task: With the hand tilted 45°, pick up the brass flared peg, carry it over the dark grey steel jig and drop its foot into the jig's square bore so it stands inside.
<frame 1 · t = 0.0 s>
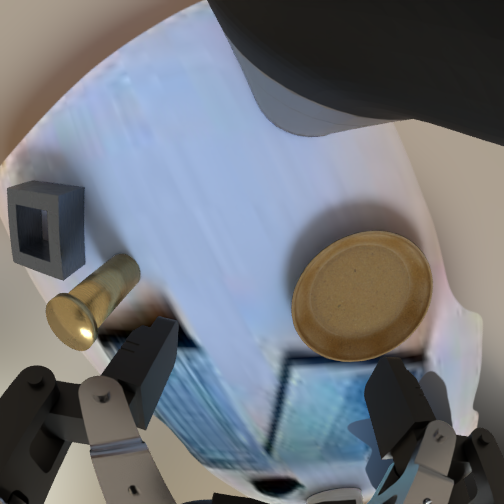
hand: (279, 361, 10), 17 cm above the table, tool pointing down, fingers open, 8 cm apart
brass flared peg: (124, 270, 29), on the table
lamp: (334, 496, 49), on the table
jig: (56, 221, 28), on the table
plant saucer: (360, 291, 28), on the table
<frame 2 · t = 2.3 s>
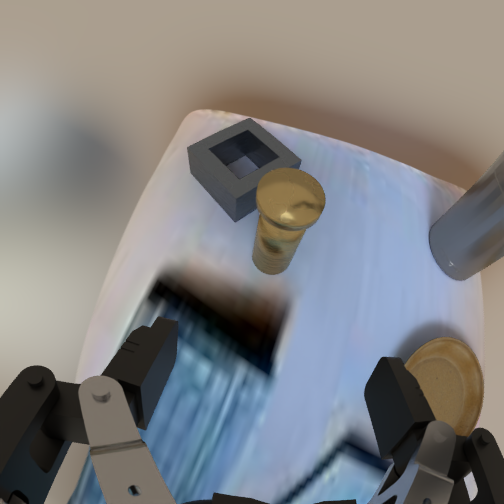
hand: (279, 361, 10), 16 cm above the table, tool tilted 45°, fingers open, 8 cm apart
brass flared peg: (271, 256, 30), on the table
jig: (242, 178, 34), on the table
plant saucer: (429, 402, 24), on the table
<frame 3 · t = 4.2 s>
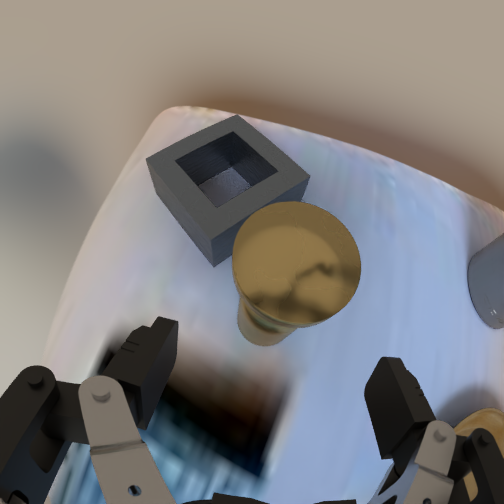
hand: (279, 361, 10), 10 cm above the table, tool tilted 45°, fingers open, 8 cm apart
brass flared peg: (264, 319, 21), on the table
jig: (225, 199, 25), on the table
plant saucer: (452, 478, 15), on the table
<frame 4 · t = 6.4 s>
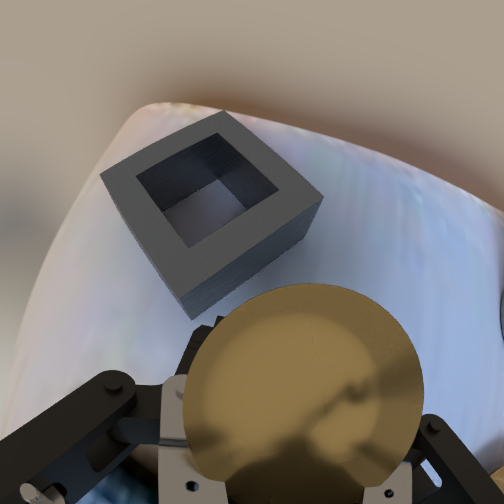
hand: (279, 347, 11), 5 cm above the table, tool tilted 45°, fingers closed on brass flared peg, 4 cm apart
brass flared peg: (258, 390, 15), on the table, touching gripper
jig: (208, 224, 19), on the table
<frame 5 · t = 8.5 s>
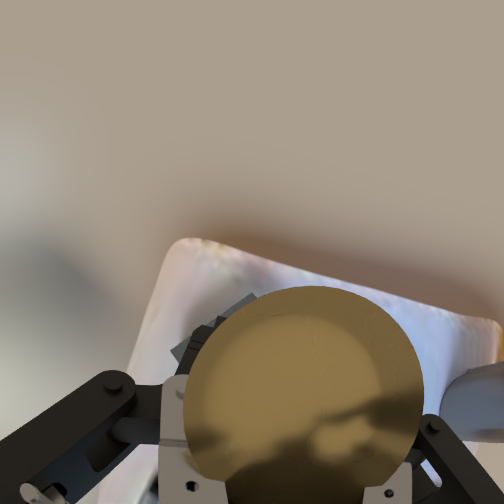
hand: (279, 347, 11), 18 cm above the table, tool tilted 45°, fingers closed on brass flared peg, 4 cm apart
brass flared peg: (258, 391, 15), point 13 cm above the table, touching gripper
jig: (240, 365, 27), on the table
when the fingers open (8 cm above the table, at t = 11.1 s): brass flared peg drops 1 cm, resting in jig.
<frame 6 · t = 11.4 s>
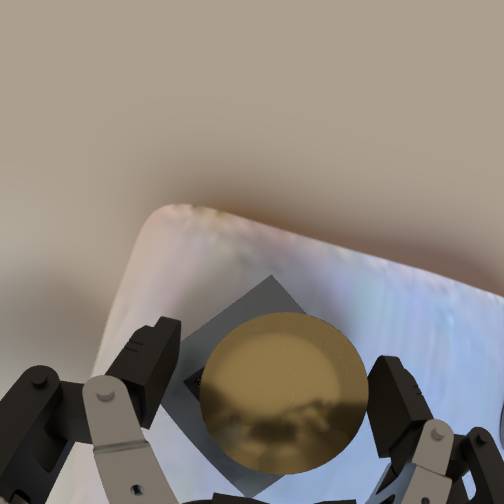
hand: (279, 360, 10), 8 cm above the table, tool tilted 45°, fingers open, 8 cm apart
brass flared peg: (252, 398, 17), resting in jig
jig: (253, 388, 17), on the table
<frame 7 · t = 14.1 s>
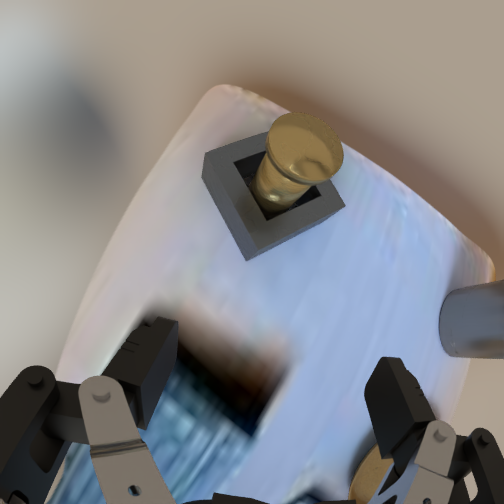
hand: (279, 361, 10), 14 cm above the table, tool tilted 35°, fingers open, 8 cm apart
brass flared peg: (262, 205, 27), resting in jig
jig: (264, 199, 27), on the table
plant saucer: (388, 465, 25), on the table
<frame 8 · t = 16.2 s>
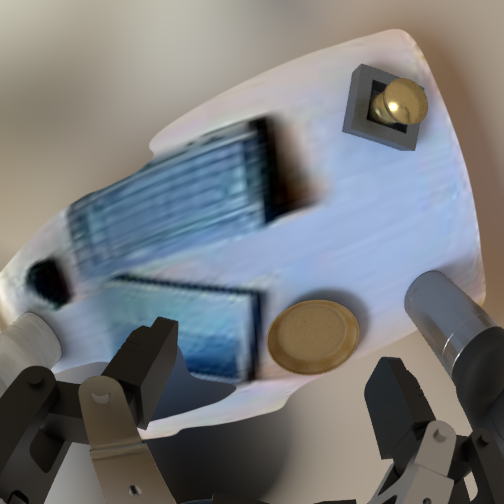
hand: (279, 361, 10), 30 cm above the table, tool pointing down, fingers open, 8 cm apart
brass flared peg: (374, 112, 33), resting in jig
lamp: (41, 337, 52), on the table
jig: (378, 110, 33), on the table
plant saucer: (312, 331, 45), on the table
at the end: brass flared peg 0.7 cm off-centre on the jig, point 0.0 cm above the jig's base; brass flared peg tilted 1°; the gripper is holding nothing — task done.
